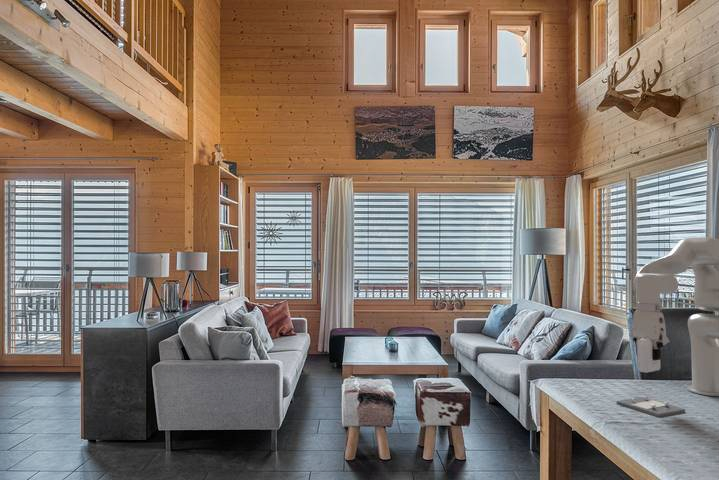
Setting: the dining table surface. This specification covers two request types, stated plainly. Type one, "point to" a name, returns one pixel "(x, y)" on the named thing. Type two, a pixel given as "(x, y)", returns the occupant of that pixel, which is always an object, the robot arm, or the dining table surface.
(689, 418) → the dining table surface
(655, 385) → the dining table surface
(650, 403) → the tray
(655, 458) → the dining table surface
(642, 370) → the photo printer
